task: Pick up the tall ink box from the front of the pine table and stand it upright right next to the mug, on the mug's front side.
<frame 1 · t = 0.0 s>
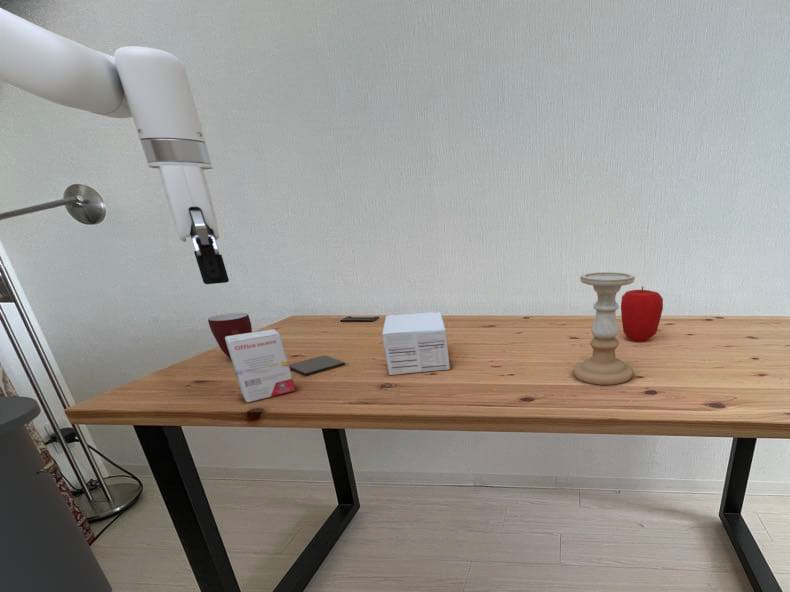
hand: (214, 279, 72), 23 cm above the table, tool pointing down, fingers open, 9 cm apart
supplement box: (419, 361, 105), on the table
ink box: (269, 394, 88), on the table
coaster: (316, 366, 103), on the table
candle holder: (602, 375, 95), on the table
mug: (242, 359, 109), on the table
apple: (638, 339, 120), on the table
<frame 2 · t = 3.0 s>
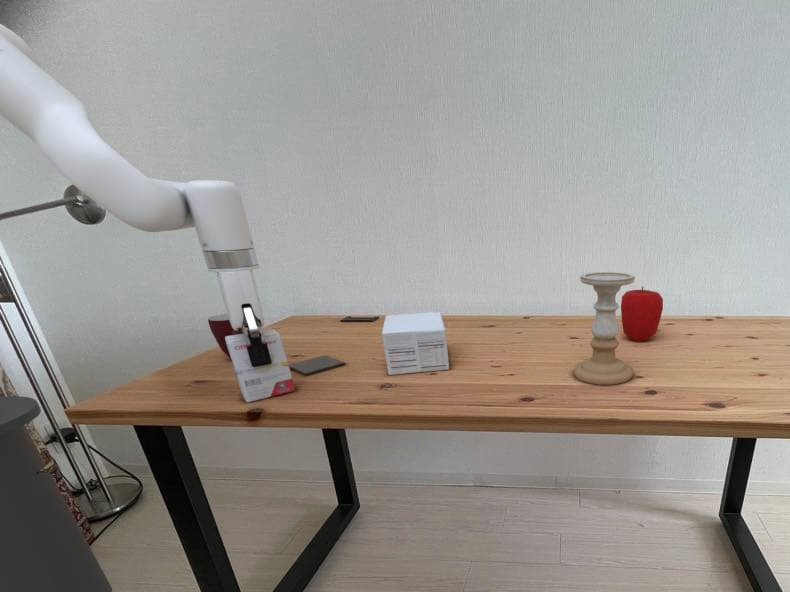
hand: (259, 360, 85), 7 cm above the table, tool pointing down, fingers closed on ink box, 5 cm apart
ink box: (269, 394, 88), on the table, touching gripper
everything else where it was.
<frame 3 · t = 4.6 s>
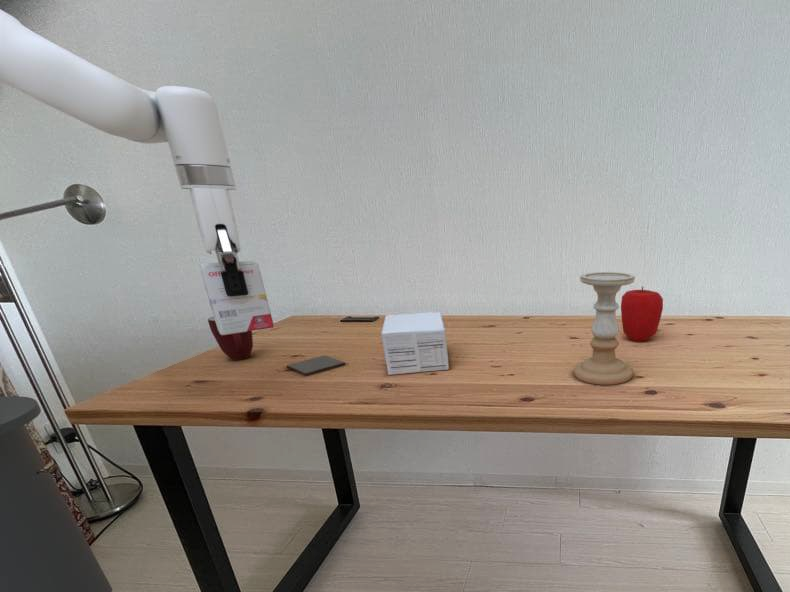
hand: (236, 291, 81), 19 cm above the table, tool pointing down, fingers closed on ink box, 5 cm apart
ink box: (246, 330, 84), point 12 cm above the table, touching gripper
everything else where it was.
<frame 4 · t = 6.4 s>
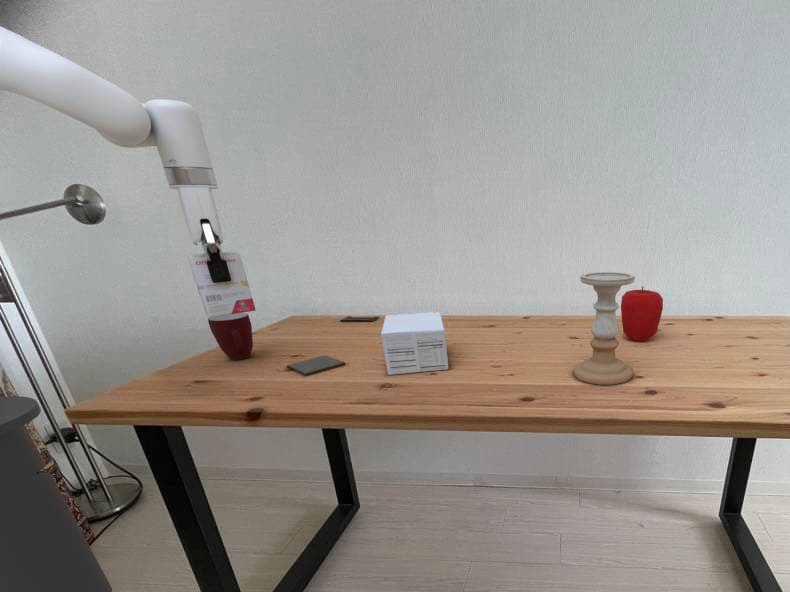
hand: (221, 279, 92), 20 cm above the table, tool pointing down, fingers closed on ink box, 5 cm apart
ink box: (231, 313, 95), point 13 cm above the table, touching gripper
everything else where it was.
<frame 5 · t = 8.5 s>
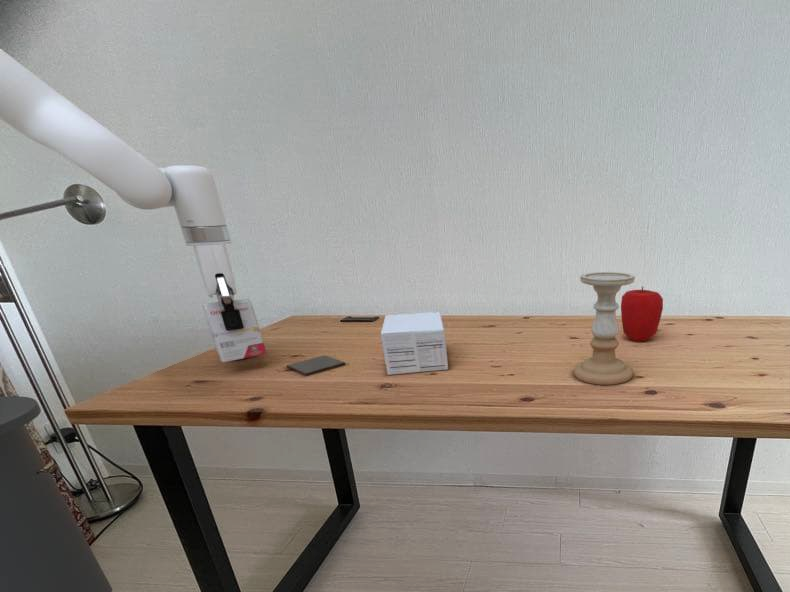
hand: (233, 325, 97), 10 cm above the table, tool pointing down, fingers closed on ink box, 5 cm apart
ink box: (243, 357, 100), point 3 cm above the table, touching gripper
everything else where it was.
when the fingers open (7 cm above the table, at t = 9.8 s): ink box stays where it is, on the table.
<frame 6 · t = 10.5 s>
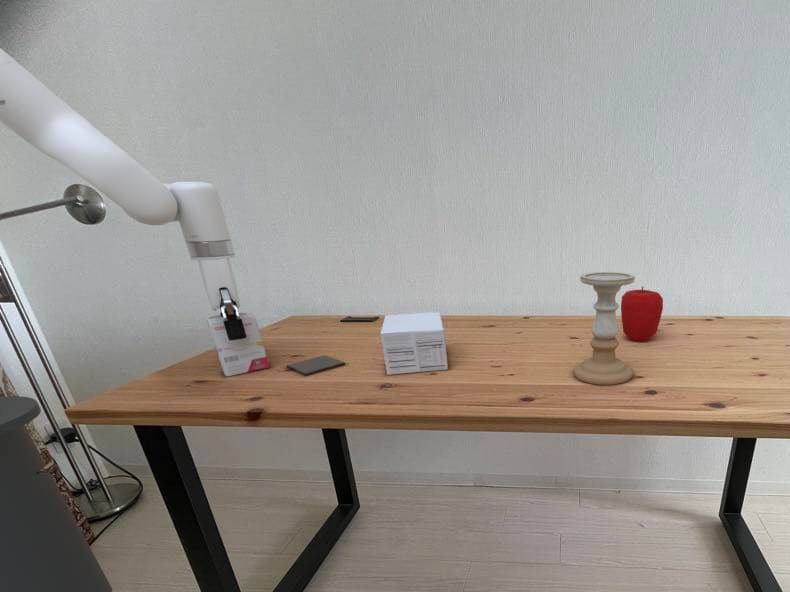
hand: (235, 334, 98), 8 cm above the table, tool pointing down, fingers open, 9 cm apart
ink box: (246, 370, 101), on the table
everything else where it was.
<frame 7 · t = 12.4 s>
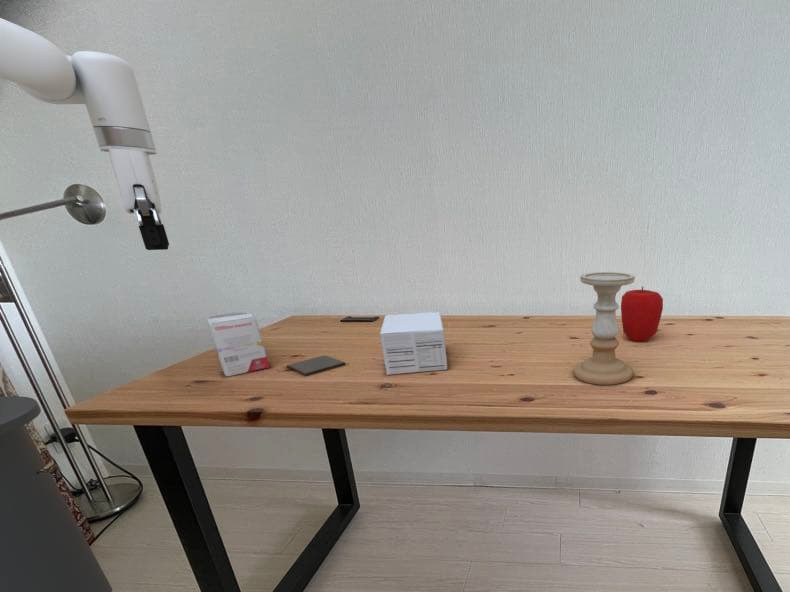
hand: (158, 247, 85), 26 cm above the table, tool pointing down, fingers open, 9 cm apart
nothing on the table moved.
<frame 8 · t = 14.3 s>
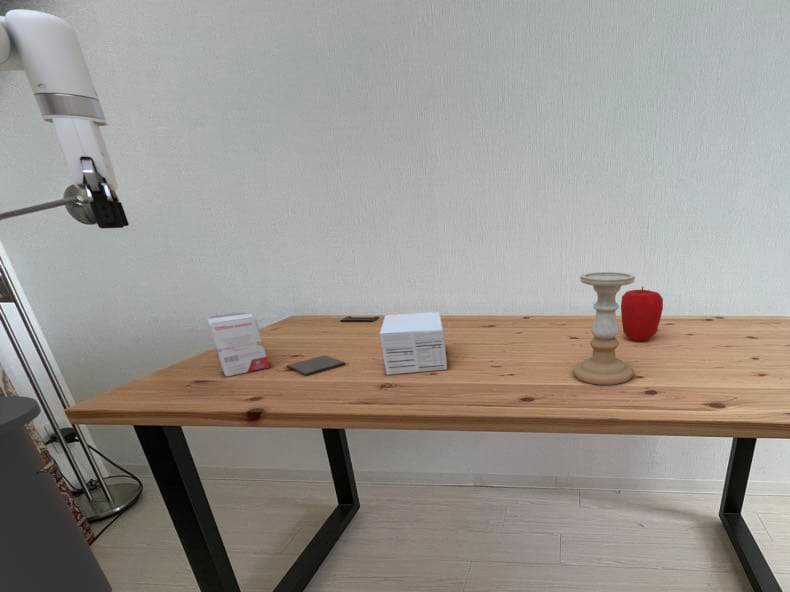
hand: (115, 227, 80), 30 cm above the table, tool pointing down, fingers open, 9 cm apart
nothing on the table moved.
at the end: ink box inside the target area on the table beside the mug (0.5 cm from its centre), on the table; ink box tilted 0°; mug moved 0.2 cm from its start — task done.
